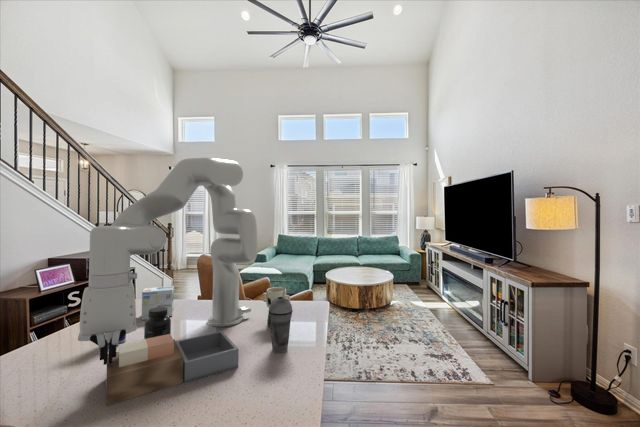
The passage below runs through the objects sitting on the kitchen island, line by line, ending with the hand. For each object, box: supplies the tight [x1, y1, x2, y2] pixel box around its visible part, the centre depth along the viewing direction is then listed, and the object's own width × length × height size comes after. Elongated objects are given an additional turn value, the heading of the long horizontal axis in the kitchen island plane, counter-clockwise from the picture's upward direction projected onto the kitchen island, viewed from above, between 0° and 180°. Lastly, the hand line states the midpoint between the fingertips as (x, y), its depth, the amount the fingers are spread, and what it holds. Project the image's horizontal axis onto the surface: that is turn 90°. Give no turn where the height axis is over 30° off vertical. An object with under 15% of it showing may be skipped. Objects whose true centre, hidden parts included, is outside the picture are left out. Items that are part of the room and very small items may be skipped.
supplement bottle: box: [143, 307, 172, 339], centre depth 85 cm, size 7×7×12 cm
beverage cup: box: [268, 282, 294, 354], centre depth 86 cm, size 7×7×20 cm
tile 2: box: [146, 333, 174, 360], centre depth 71 cm, size 6×6×3 cm
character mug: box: [262, 286, 291, 327], centre depth 106 cm, size 11×7×13 cm, turn 74°
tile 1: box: [118, 338, 148, 367], centre depth 68 cm, size 6×6×3 cm
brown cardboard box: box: [105, 338, 184, 407], centre depth 69 cm, size 15×12×6 cm
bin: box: [175, 330, 239, 385], centre depth 77 cm, size 13×14×5 cm
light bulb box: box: [141, 285, 175, 321], centre depth 113 cm, size 11×7×11 cm, turn 114°
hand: (108, 361), depth 65 cm, fingers closed
